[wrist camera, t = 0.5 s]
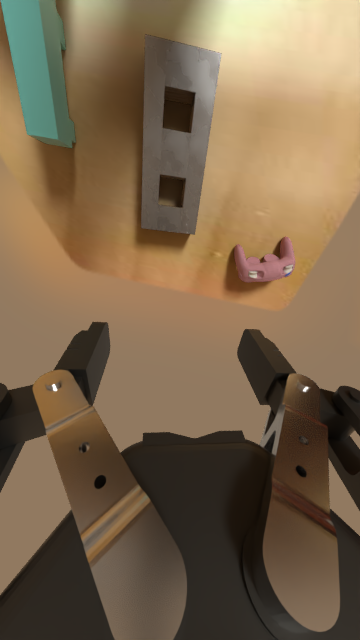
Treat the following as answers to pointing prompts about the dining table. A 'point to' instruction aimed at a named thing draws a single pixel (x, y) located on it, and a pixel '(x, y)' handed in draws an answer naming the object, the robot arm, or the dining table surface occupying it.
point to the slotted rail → (170, 145)
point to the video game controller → (266, 264)
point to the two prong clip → (39, 68)
